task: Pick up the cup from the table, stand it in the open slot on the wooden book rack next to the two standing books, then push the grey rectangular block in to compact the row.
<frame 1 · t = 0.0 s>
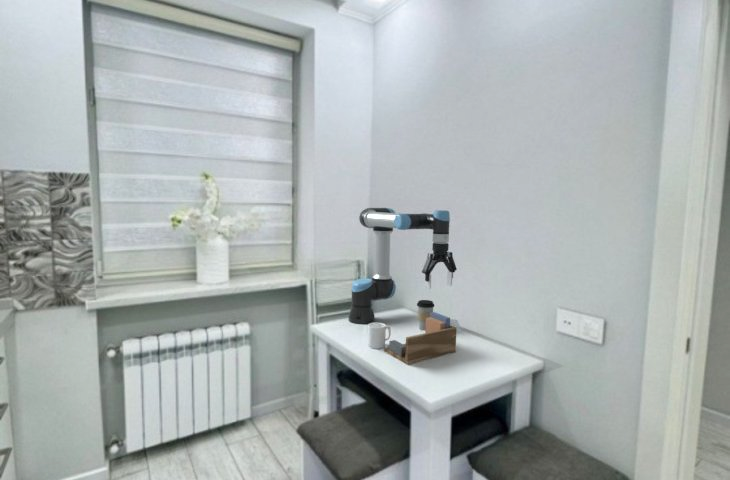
hand: (439, 286, 188), 28 cm above the table, fingers open, 13 cm apart
cup: (379, 345, 186), on the table
coffee cup: (424, 329, 211), on the table
grey rectangular block: (397, 348, 173), point 4 cm above the table, slide at 0.0 cm
wooden book rack: (417, 352, 178), on the table
books: (437, 330, 183), point 8 cm above the table
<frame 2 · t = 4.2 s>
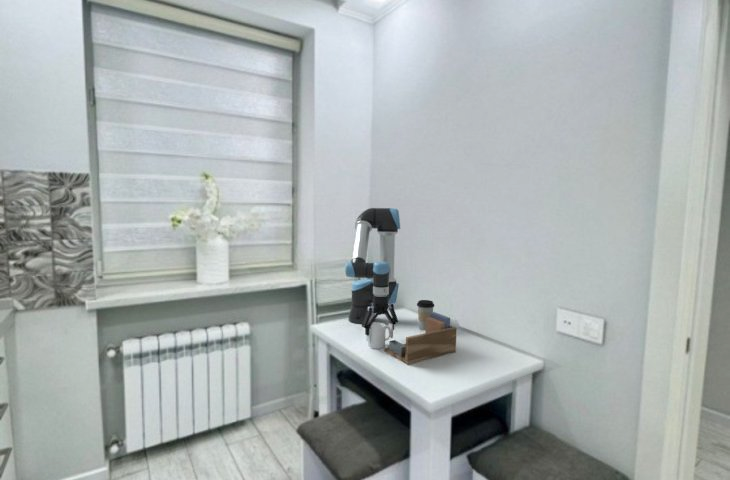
hand: (379, 339, 186), 3 cm above the table, fingers closed on cup, 12 cm apart
cup: (379, 345, 186), on the table, touching gripper
everything else where it was.
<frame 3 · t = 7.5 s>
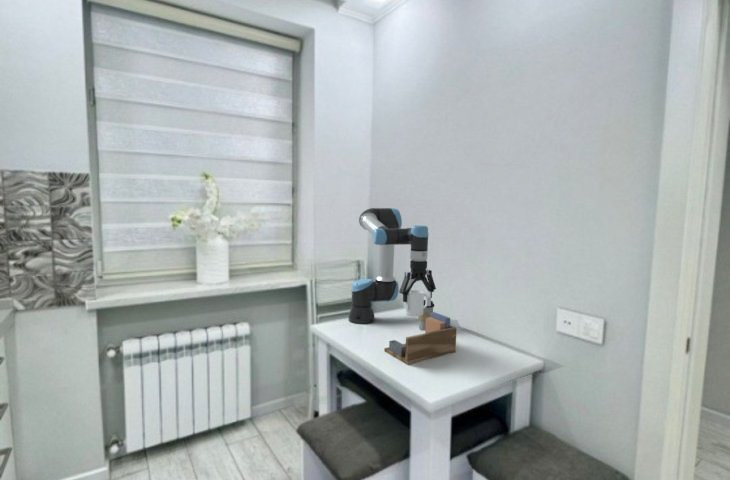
hand: (417, 307, 176), 21 cm above the table, fingers closed on cup, 12 cm apart
cup: (417, 313, 177), point 18 cm above the table, touching gripper
everything else where it was.
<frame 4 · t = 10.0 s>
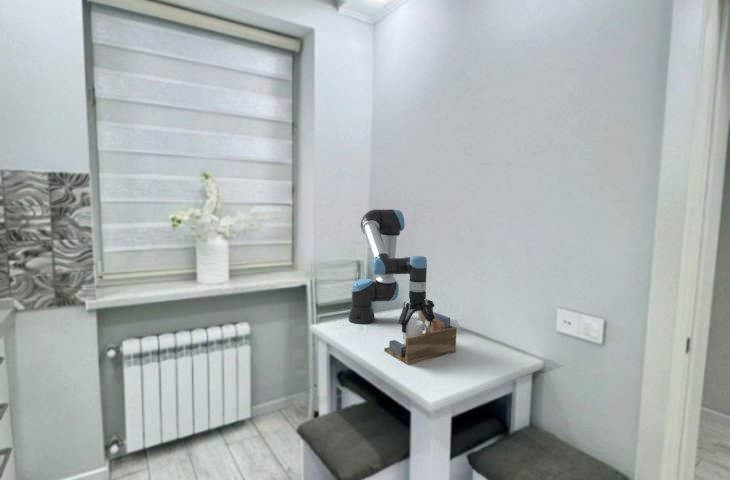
hand: (416, 337, 177), 7 cm above the table, fingers closed on cup, 12 cm apart
cup: (416, 343, 177), point 4 cm above the table, touching gripper
everything else where it was.
when the fingers open (7 cm above the table, at t = 11.2 s): cup drops 2 cm, resting on wooden book rack.
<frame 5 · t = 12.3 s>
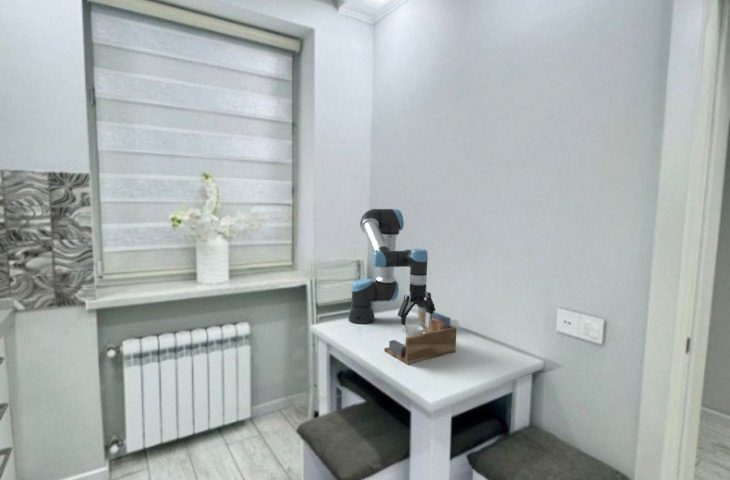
hand: (416, 329, 178), 11 cm above the table, fingers open, 13 cm apart
cup: (416, 349, 177), point 1 cm above the table, touching gripper, wooden book rack
everything else where it was.
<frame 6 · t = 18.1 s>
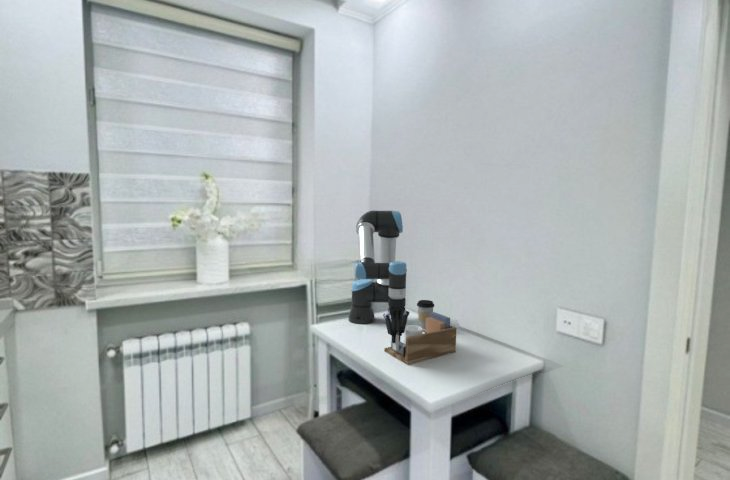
hand: (395, 349, 172), 3 cm above the table, fingers closed
cup: (416, 349, 177), point 1 cm above the table, touching wooden book rack
grey rectangular block: (399, 347, 173), point 4 cm above the table, slide at 1.1 cm, touching gripper
everything else where it was.
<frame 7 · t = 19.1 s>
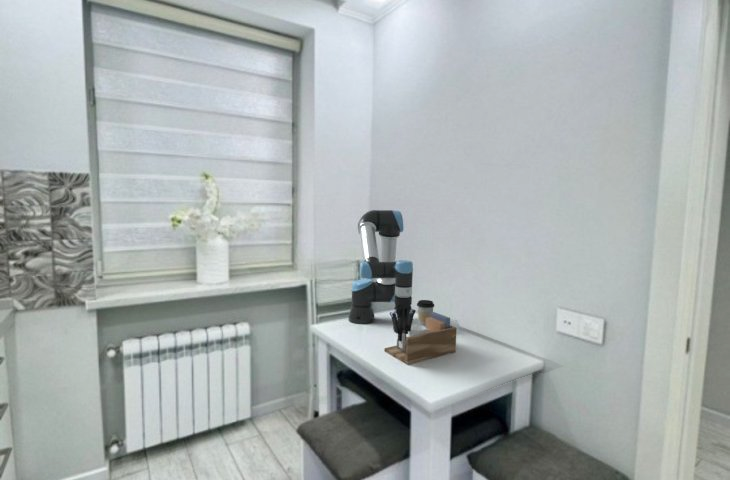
hand: (401, 347, 174), 4 cm above the table, fingers closed
cup: (419, 348, 178), point 1 cm above the table, touching hand, wooden book rack
grey rectangular block: (405, 346, 175), point 4 cm above the table, slide at 4.3 cm, touching gripper
everything else where it was.
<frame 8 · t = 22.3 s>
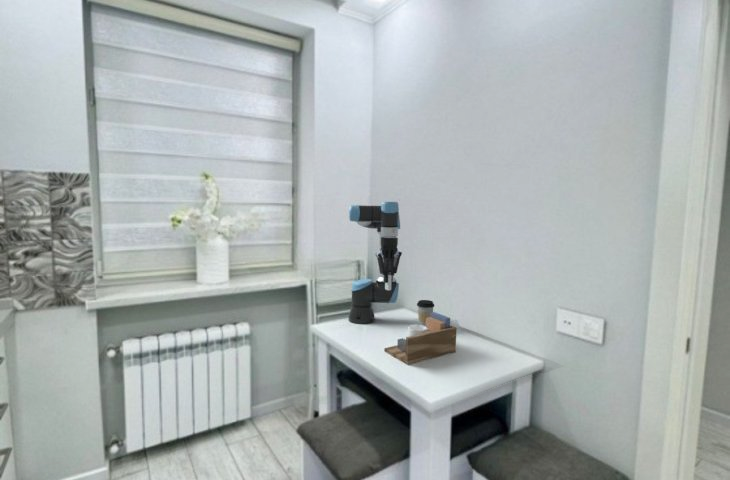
hand: (388, 289, 173), 29 cm above the table, fingers closed
cup: (420, 348, 179), point 1 cm above the table, touching wooden book rack
grey rectangular block: (406, 346, 175), point 4 cm above the table, slide at 4.6 cm
everything else where it was.
at the end: cup inside the target area on the wooden book rack (0.9 cm from its centre), point 1.3 cm above the wooden book rack's base; cup tilted 0°; grey rectangular block slide at 4.6 cm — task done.
